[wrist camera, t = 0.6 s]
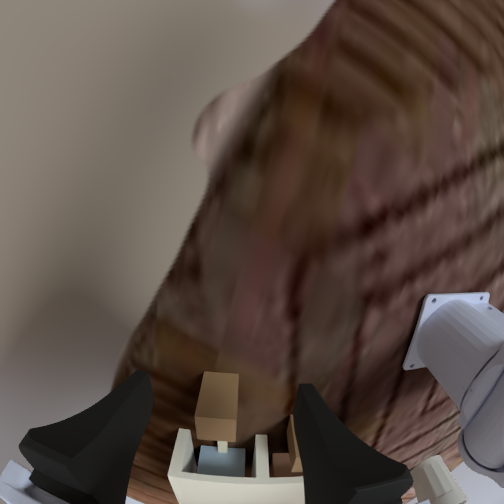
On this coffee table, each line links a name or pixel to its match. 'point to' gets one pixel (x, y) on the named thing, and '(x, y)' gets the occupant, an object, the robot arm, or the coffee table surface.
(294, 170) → the coffee table surface
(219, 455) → the tan and blue dumbbell
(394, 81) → the coffee table surface
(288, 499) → the shelf
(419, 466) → the cup
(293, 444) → the tan block
